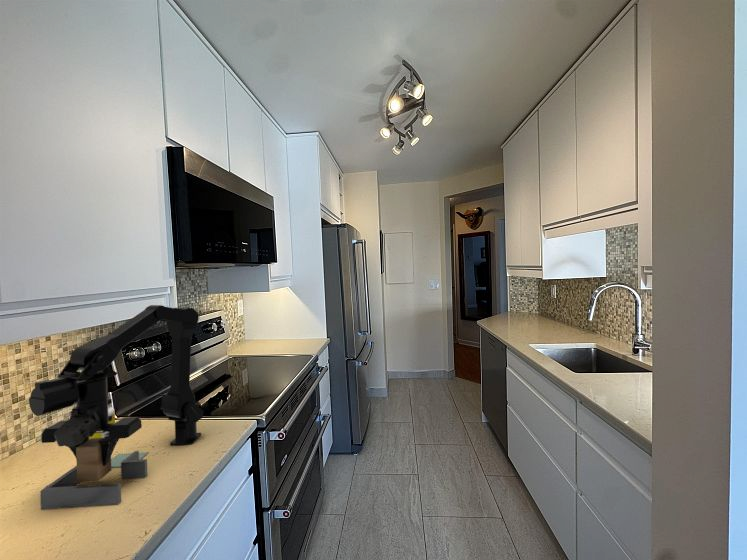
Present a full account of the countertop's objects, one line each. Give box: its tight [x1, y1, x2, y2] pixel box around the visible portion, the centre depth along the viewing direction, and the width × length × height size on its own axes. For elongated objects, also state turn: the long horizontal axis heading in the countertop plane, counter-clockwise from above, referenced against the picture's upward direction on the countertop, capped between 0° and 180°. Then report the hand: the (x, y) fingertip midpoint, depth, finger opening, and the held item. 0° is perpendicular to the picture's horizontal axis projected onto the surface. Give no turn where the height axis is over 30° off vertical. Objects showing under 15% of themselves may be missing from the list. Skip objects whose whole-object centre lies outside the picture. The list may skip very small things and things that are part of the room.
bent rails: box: [39, 450, 148, 511], centre depth 82 cm, size 16×16×4 cm
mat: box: [111, 451, 149, 469], centre depth 93 cm, size 7×8×1 cm
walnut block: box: [75, 438, 112, 484], centre depth 81 cm, size 4×4×8 cm
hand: (94, 465), depth 81 cm, fingers closed on walnut block, 4 cm apart
